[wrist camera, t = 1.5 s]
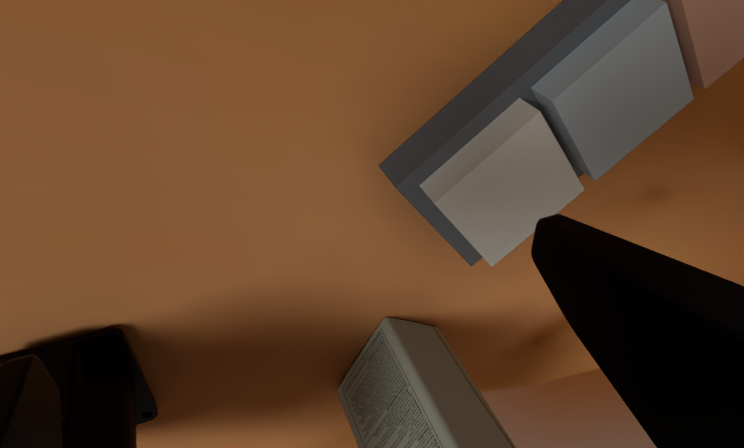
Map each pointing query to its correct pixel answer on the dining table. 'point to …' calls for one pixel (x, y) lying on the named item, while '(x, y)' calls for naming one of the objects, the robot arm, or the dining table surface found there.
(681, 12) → the terracotta key
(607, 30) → the key pad
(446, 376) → the skincare box
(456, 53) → the dining table surface
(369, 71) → the dining table surface
